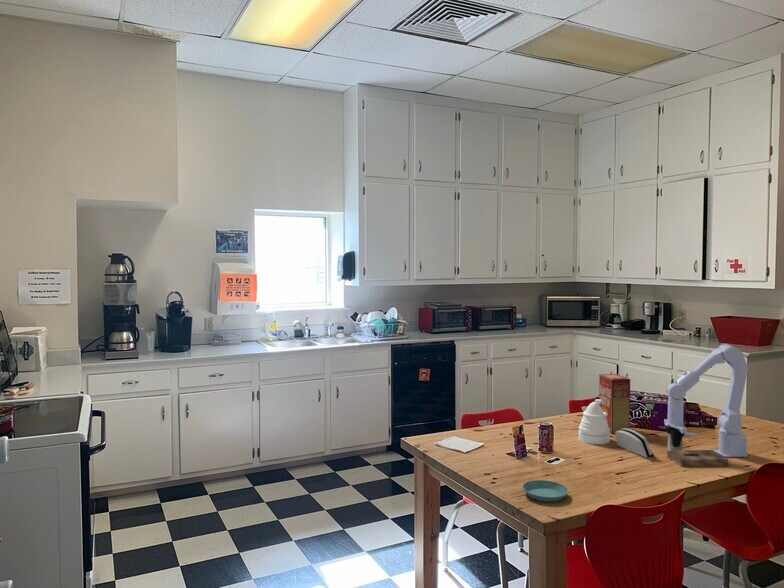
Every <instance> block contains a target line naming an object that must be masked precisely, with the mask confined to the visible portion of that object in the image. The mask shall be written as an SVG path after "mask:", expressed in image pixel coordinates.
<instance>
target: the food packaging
mask: <svg viewBox="0 0 784 588" xmlns="http://www.w3.org/2000/svg"><path fill="white" fill-rule="evenodd" d="M598 378H599V382H598V384H599V386H598V387H599V388H598V390H599V392H598V397H599V399H600V400H602V401H601V403H600V404H599V405H600V407H601V408H602V410H603V412H605V413H606V414H607V416H606V417H605V418H606V420H607V424H608V427H609V429H610V434H612V435H615V432H616V431H619V430H620V429H624V428H626V429H631V413H630V412H631V378H628V377H626V376H622V375H619V374H618V373H602V374H601V373H600V374H599V377H598Z"/></svg>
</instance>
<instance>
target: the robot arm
mask: <svg viewBox="0 0 784 588" xmlns="http://www.w3.org/2000/svg"><path fill="white" fill-rule="evenodd" d="M726 363H727V364H728V366H729V367H730V368H731V369H732V370H731V375H730V381H729V385H728V388H727V389H728V390H727V395H726V399H725V404H724V407H723V408H722V409H721V413H720V414H719V416H718V417H717V423H718V425H719V427H720V428H719V429H718V449H713V451H714V452H716V453H718V454H720V455H721V456H723V457H725V458H731V457H732V458H734V457H735V458H737V457H738V458H740V457H742V458H743V457H746V458H747V457H748V453H747V452H748V451H747V450H748V439H747V435H746V434H745V433H744V432H742V428H743V424H742V422H741V421H742V415H741V411H740V410H741V405H742V400H743V396H744V390H745V387H746V386H745V384H746V381H747V375H748V373H749V372H748V371H749V365H748V364H747V361H746V359H745V355H744V353H743V352H742V351H741V350H740V349H739V348H738V347H736V346H733V345H731V344H729V343H721V344H720V345H718V346H717V348H715V349H713V350H712V351H711V353H710V354H708V355H707V357H705V359H703V360H702V361H701V362H700V363H699V364H698V365H697V366H695V368H694V369H693V370H687V371H683V372H682V375H681V376H680V377H679V378H678V379H675V380H673V383H670V384H668V386H667V388H666V393H667V395H668V401H667V418H666V419H665V418H664V420H663V423H664V426H665V427H664V429H665V431H666V433H667V434H668V433H671V434H672V438H673V446H674V447H679V446H680V443H681V440H682V441H683V436H684V434H685V433H688V428H686V426H685V424H684V398H685V397H686V395H687V392H689V390H691V389H692V388H694V387H695V385H696V384H698V383H699V382H700V378H701V376H702V375H704V374H705V373H706V372H708V370H710V369H711V368H712V367H713V366H715V365H717V364H718V365H719V364H726Z"/></svg>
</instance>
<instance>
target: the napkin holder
mask: <svg viewBox="0 0 784 588" xmlns="http://www.w3.org/2000/svg"><path fill="white" fill-rule="evenodd" d="M614 435H615V439H616V445H617V447H619V446H620V448H622V447H623V448H622V449H624V448H625V449H624V450H626V449H628V450H630V451H629V452H631V451H632V452H631V453H633V452H634V453H633V454H635V453H636V454H635V455H637V454H639V455H638V456H640V455H641V456H640V457H642V456H644V457H646V458H648V456H651V455H655V453H654V451H652V450H651V447H650V445H649V442H648V440H647V438H646V437H645V436H644V435H643V434H641V433H639V432H638V431H635V430H633V429H631V428H630V429H626V428H624V429H620V430H619V431H616V432H615V434H614ZM628 450H627V451H628ZM644 457H643V458H644Z"/></svg>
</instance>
